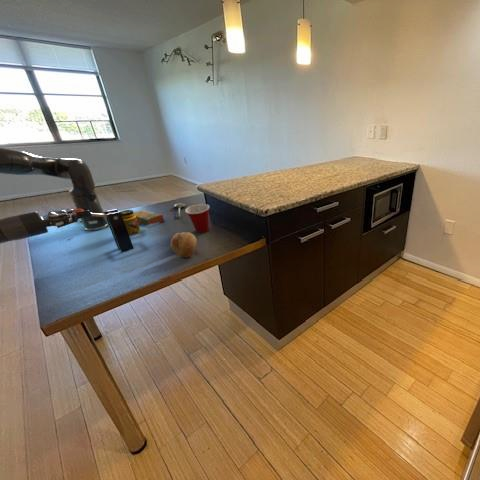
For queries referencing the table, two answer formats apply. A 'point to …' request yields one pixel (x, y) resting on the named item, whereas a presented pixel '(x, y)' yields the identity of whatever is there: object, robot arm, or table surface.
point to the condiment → (130, 222)
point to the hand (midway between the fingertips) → (88, 211)
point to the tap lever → (91, 213)
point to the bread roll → (183, 244)
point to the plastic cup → (199, 217)
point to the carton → (148, 217)
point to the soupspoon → (179, 208)
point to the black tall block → (119, 230)
